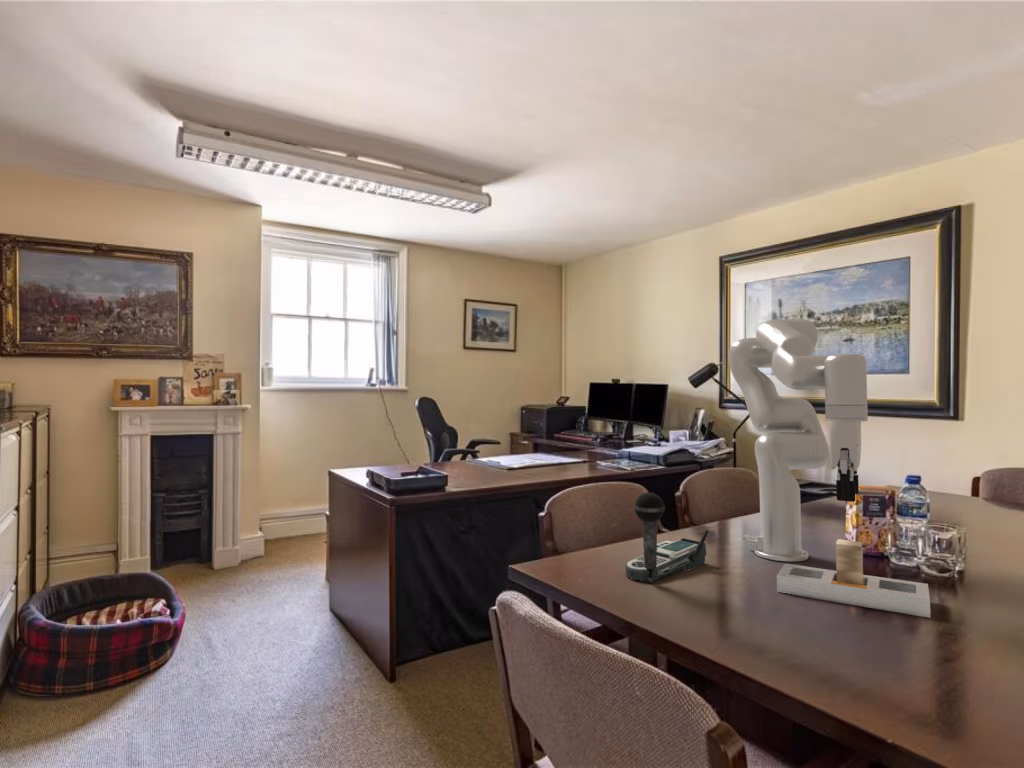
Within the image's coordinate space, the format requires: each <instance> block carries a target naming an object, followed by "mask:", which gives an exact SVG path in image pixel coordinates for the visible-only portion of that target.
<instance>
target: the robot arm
mask: <svg viewBox="0 0 1024 768" xmlns="http://www.w3.org/2000/svg"><path fill="white" fill-rule="evenodd" d="M755 331H756V332H755V337H746V338H740V339H738V340H736V341H734V342H733V343H732V344H731V345H730V347H729V350H728V364H729V368H730V369H729V370H730V372H731V375H732V377H733V378H734V380H735V382H736V383H737V385H738V387H739V388H740V390H741V392H742V394H743V398H744V401H745V402H744V403H745V405H746V408H747V412H748V415H749V417H750V421H751V424H752V426H753V428H754V429H755V430H756V431H758V432H760V433H763V434H762V435H760V436H759V437H758V438H756V440H755V442H754V455H755V461H756V464H757V472H758V483H759V485H758V486H759V516H760V517H759V523H760V525H759V527H760V530H759V531H760V534H759V535H758V534H757V535H756V536H755V535H750V534H749V535H748V534H744V535H743V537H742V538H743V539H742V540H743V542H744V543H745V544H748V545H755V547H754V549H753V551H754V554H755V555H757V556H759V557H761V558H764V559H766V560H771V561H779V562H790V563H791V562H795V563H796V562H803V561H807V560H808V559H809V551H806V550H805V549H802V522H801V521H802V520H801V519H802V518H801V517H802V516H801V514H802V513H801V512H802V510H801V489H800V488H801V487H800V485H799V482H798V481H797V479H796V478H795V476H793V475H792V473H791V471H792V470H793V471H794V470H815V469H816V470H817V469H821V468H823V467H825V466H826V465H827V464H828V463H829V468H830V469H831V470H835V469H836V468H837V472H836V473H837V474H836V480H835V485H836V489H835V490H836V491H835V492H836V494H835V495H836V501H838V502H839V501H841V502H850V503H851V502H855V501H856V495H858V494H859V490H860V489H859V488H860V487H859V474H858V469H859V467H860V466H861V456H862V422H868V421H869V420H868V417H869V416H868V414H869V413H868V412H869V410H868V386H867V385H868V381H867V379H868V374H867V359H866V357H865V356H864V355H863V354H859V353H837V354H836V353H835V354H830V355H812V353H813V350H814V348H815V347H816V346H817V344H818V339H819V332H818V329H817V326H816V325H815V324H814V323H813V322H812V321H810V320H808V319H805V318H804V319H803V318H797V319H796V318H792V319H791V318H789V319H788V318H786V319H785V318H784V319H783V318H782V319H779V318H778V319H769V320H767V321H764V322H763V323H761V324H760V325H759V326H758V327H757V329H756V330H755ZM760 368H761V369H765V368H767V369H768V368H771V369H772V371H773V372H772V373H773V375H774V376H775V378H776V379H777V380H778V381H780V383H781V384H782V385H784V386H785V387H787V388H789V389H792V390H796V391H797V390H798V391H808V390H811V391H814V390H822V391H823V390H824V405H825V406H824V408H825V409H824V410H825V411H824V412H825V413H824V415H825V421H826V422H830V429H829V430H830V432H829V433H830V434H829V436H830V437H829V445H830V446H829V445H828V441H827V438H826V435H825V433H824V430H823V428H822V425H821V423H820V419H819V418H818V415H817V413H816V412H817V411H816V410H815V408H814V406H813V405H812V403H810V402H809V401H808V400H806V399H805V398H801V397H782V396H780V395H779V393H778V390H777V387H776V385H775V384H774V382H773V380H772V379H771V378H770V377H769V376H767V374H765V373H764V372H763V371H761V370H760ZM829 447H830V448H829Z"/></svg>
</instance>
